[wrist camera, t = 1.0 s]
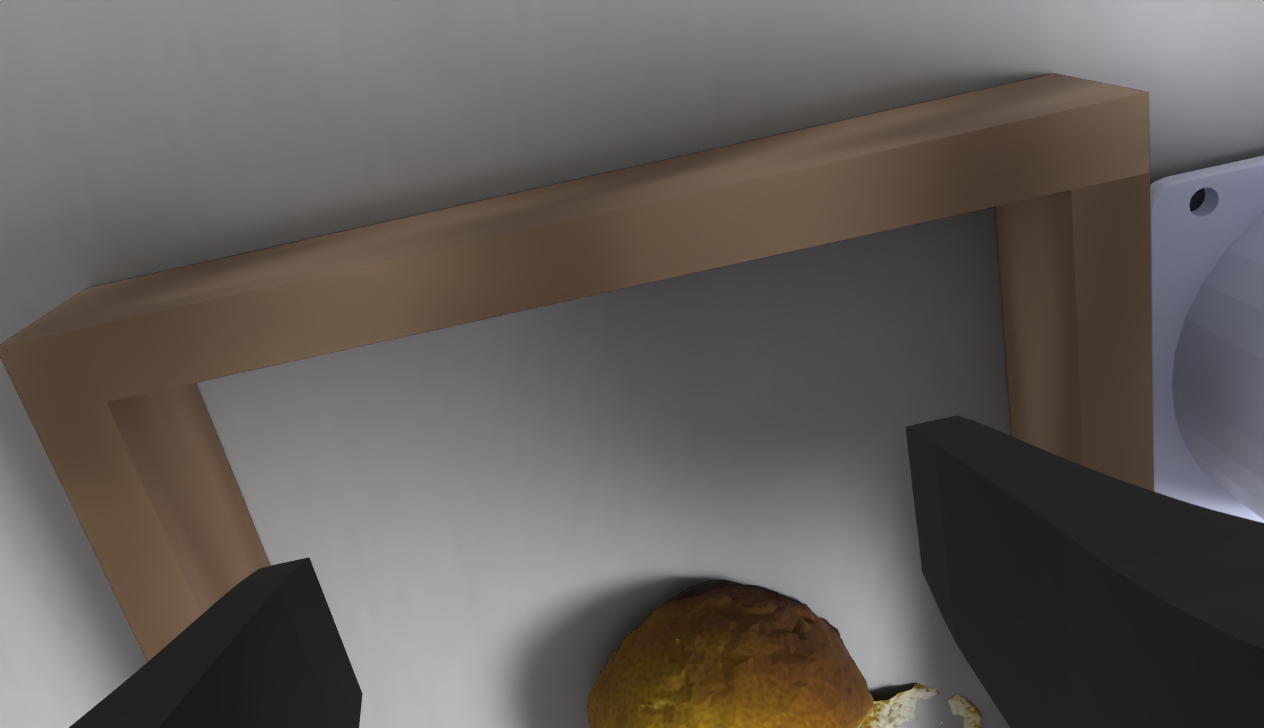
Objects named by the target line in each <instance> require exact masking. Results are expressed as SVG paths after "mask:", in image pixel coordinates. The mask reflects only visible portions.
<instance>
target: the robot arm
mask: <svg viewBox="0 0 1264 728" xmlns="http://www.w3.org/2000/svg"><path fill="white" fill-rule="evenodd" d="M1202 188H1204V191H1205V198H1204V202H1203V203H1202V204H1201V205H1200V207H1199V208H1198V209H1196V210H1194V211H1191V210H1190V207H1189V204H1190V200H1191V197H1192V196H1193V195H1194V194H1195V192H1196V191H1198V190H1200V189H1202ZM1150 217H1151V299H1152V382H1153V464H1154V491H1151V490H1148V489H1145V488H1142V487H1139V486H1136V485H1133V484H1130V483H1127V482H1125V481H1122V480H1119V479H1117V478H1114V477H1111V476H1108V475H1106V474H1103V473H1100V472H1098V471H1095V470H1093V469H1090V468H1087V467H1085V466H1082V465H1080V464H1077V463H1075V462H1072V461H1070V460H1067V459H1065V458H1062V457H1060V456H1057V455H1055V454H1052V453H1050V452H1048V451H1045V450H1043V449H1040V448H1038V447H1036V446H1033V445H1031V444H1028V443H1026V442H1024V441H1021V440H1019V439H1016V438H1014V437H1012V436H1009V435H1007V434H1005V433H1002V432H1000V431H997V430H995V429H992V428H990V427H988V426H985V425H982V424H980V423H977V422H975V421H972V420H969V419H966V418H963V417H960V416H953V417H948V418H944V419H939V420H934V421H930V422H925V423H921V424H916V425H912V426H907V427H906V434H907V443H908V452H909V460H910V469H911V478H912V486H913V495H914V503H915V512H916V521H917V529H918V538H919V547H920V555H921V564H922V572H923V574H924V576H925V579H926V581H927V583H928V585H929V587H930V590H931V592H932V594H933V596H934V598H935V601H936V603H937V605H938V607H939V609H940V612H941V614H942V616H943V618H944V620H945V622H946V624H947V626H948V628H949V630H950V632H951V634H952V636H953V638H954V640H955V642H956V644H957V645H958V647H959V649H960V650H961V652H962V653H963V655H964V657H965V658H966V660H967V661H968V663H969V664H970V666H971V667H972V669H973V671H974V672H975V674H976V675H977V677H978V678H979V680H980V681H981V683H982V685H983V686H984V688H985V689H986V691H987V692H988V694H989V695H990V697H991V699H992V700H993V702H994V703H995V705H996V706H997V708H998V709H999V711H1000V712H1001V714H1002V715H1003V717H1004V718H1005V720H1006V721H1007V723H1008V725H1009V726H1010V728H1264V155H1263V156H1259V157H1254V158H1250V159H1245V160H1241V161H1236V162H1232V163H1227V164H1222V165H1218V166H1213V167H1209V168H1204V169H1200V170H1195V171H1191V172H1186V173H1182V174H1177V175H1172V176H1168V177H1164V178H1162V179H1159V180H1157V181H1155V182H1154V183H1152V184H1151V185H1150ZM361 702H362V692H361V689H360V687H359V684H358V681H357V679H356V676H355V674H354V671H353V669H352V666H351V663H350V661H349V658H348V656H347V653H346V651H345V648H344V645H343V643H342V640H341V638H340V635H339V633H338V630H337V627H336V625H335V622H334V620H333V617H332V615H331V612H330V609H329V607H328V604H327V602H326V599H325V597H324V594H323V591H322V589H321V586H320V584H319V581H318V579H317V576H316V573H315V571H314V568H313V566H312V563H311V561H310V558H304V559H300V560H295V561H291V562H286V563H281V564H277V565H272V566H268V567H263V568H259V569H258V570H256V571H255V572H253V573H252V574H250V575H249V576H248V577H246V578H245V579H244V580H242V581H241V582H240V583H238V584H237V585H236V586H235V587H233V588H232V589H231V590H230V591H229V592H227V593H226V594H225V595H224V596H223V597H221V598H220V599H219V600H218V601H217V602H216V603H214V604H213V605H212V606H211V607H210V608H209V609H207V610H206V611H205V612H204V613H203V614H202V615H201V616H199V617H198V618H197V619H196V620H195V621H194V622H193V623H192V624H190V625H189V626H188V627H187V628H186V629H185V630H184V631H182V632H181V633H180V634H179V635H178V636H177V637H176V638H175V639H173V640H172V641H171V642H170V643H169V644H168V645H167V646H165V647H164V648H163V649H162V650H161V651H160V652H159V653H157V654H156V655H155V656H154V657H153V658H152V659H151V660H149V661H148V662H147V663H146V664H145V665H144V666H143V667H142V668H140V669H139V670H138V671H137V672H136V673H135V674H133V675H132V676H131V677H130V678H129V679H128V680H126V681H125V682H124V683H123V684H121V685H120V686H119V687H118V688H117V689H115V690H114V691H113V692H112V693H111V694H109V695H108V696H107V697H106V698H104V699H103V700H102V701H101V702H100V703H98V704H97V705H96V706H95V707H94V708H92V709H91V710H90V711H89V712H87V713H86V714H85V715H84V716H83V717H81V718H80V719H79V720H78V721H76V722H75V723H74V724H73V725H72V726H70V727H69V728H359V722H360V712H361Z"/></svg>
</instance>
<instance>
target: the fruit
mask: <svg viewBox="0 0 1264 728" xmlns="http://www.w3.org/2000/svg"><path fill="white" fill-rule="evenodd" d="M600 674H601V676H600V677H599V679H598V680H597V681H596V683H595V685H594V686H593V688H592V690H591V691H590V694H589V699H588V705H587V708H588V719H589V724H590V726H591V728H896V727H897V726H899V725H900V724H902V723H905V722H908V721H911V720H914V719H916V716H915V713H914V712H915V709H916V702H917V701H918V700H926V699H929V698H931V697H932V696H934V695H936V694H938V693H939V691H938V689H936V688H933V689H931V688H929V687H927V686H922V685H920V684H915V685H914V687H913V688H912V689H911V690H908V691H904V692H900V693H897V694H896V696H894V697H893V698H892V699H889V700H886V701H877V702H876V701H874V700H873V698H872V695H871V694H870V692H869V690H868V686H867V683H866V680H865V678H864V677H863V675H862V674H861V672H860V670H859V669H858V667H857V665H856V663H855V662H854V660H853V659H852V658H851V656H850V654H849V652H848V650H847V649H846V647H845V646H844V643H843V641H842V639H841V638H840V634H839V631H838V629H836V628H835V627H833V626H832V625H830V624H829V622H828V621H827V620H825V619H823V618H820V617H817V616H816V615H815V614H814V613H813V612H812V611H811V609H810V608H809V607H808V606H807V605H806V604H803V603H799V602H795V601H791V600H788V599H786V598H785V597H784V596H783V595H781V594H779V593H777V592H773V591H771V590H769V589H767V588H764V587H760V586H754V585H743V584H739V583H735V582H731V581H726V580H714V581H710V582H706V583H702V584H698V585H696V586H694V587H690V588H688V589H686V590H684V591H682V592H681V593H680V594H678V595H677V596H675V597H673V598H672V599H670V600H668V601H667V602H665V603H664V604H663V605H662V606H661V607H660V608H658V609H655V610H653V612H651V613H650V614H648V615H647V618H646V620H645V622H644V623H643V624H642V626H641V627H639V628H637V629H636V630H634V631H633V632H632V633H631V634H630V635H629V636H628V637H626V638H625V639H624V640H622V643H621V646H620V649H619V650H616V651H613V652H612V654H611V656H610V658H609V660H608V663H607V665H606V668H605V669H604V670H603V671H601V672H600ZM948 703H949V705H950V708H951V711H952V714H953V716H954V715H961V716H963V717H965V718H964V721H963V724H964V728H981V724H982V719H981V715H980V711H979V710H978V709H977V708H976V707H975V706H974V705H973V704H972V703H970V702H969V701H968V700H966V699H965V698H963V697H961V696H959V695H957V694H954V696H953V697H951V698H950V699H949V700H948ZM941 724H943V722H941V723H940V725H941Z"/></svg>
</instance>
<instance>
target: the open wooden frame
mask: <svg viewBox="0 0 1264 728" xmlns="http://www.w3.org/2000/svg"><path fill="white" fill-rule="evenodd" d="M991 207H995V213H996V227H997V241H998V255H999V269H1000V283H1001V297H1002V311H1003V325H1004V338H1005V352H1006V366H1007V380H1008V394H1009V408H1010V422H1011V436H1012V437H1014V438H1016V439H1019V440H1021V441H1024V442H1026V443H1028V444H1031V445H1033V446H1036V447H1038V448H1040V449H1043V450H1045V451H1048V452H1050V453H1052V454H1055V455H1057V456H1060V457H1062V458H1065V459H1067V460H1070V461H1072V462H1075V463H1077V464H1080V465H1082V466H1085V467H1087V468H1090V469H1093V470H1095V471H1098V472H1100V473H1103V474H1106V475H1108V476H1111V477H1114V478H1117V479H1119V480H1122V481H1125V482H1127V483H1130V484H1133V485H1136V486H1139V487H1142V488H1145V489H1148V490H1151V491H1154V464H1153V382H1152V299H1151V217H1150V135H1149V92H1146V91H1141V90H1136V89H1131V88H1126V87H1121V86H1116V85H1111V84H1106V83H1101V82H1096V81H1090V80H1085V79H1080V78H1075V77H1070V76H1065V75H1060V74H1055V73H1054V74H1049V75H1045V76H1040V77H1036V78H1031V79H1027V80H1022V81H1018V82H1013V83H1009V84H1004V85H1000V86H995V87H991V88H986V89H982V90H977V91H973V92H968V93H964V94H959V95H955V96H950V97H946V98H941V99H937V100H932V101H928V102H923V103H919V104H914V105H910V106H905V107H901V108H896V109H892V110H887V111H883V112H878V113H874V114H869V115H865V116H860V117H856V118H851V119H847V120H842V121H838V122H833V123H829V124H824V125H820V126H815V127H811V128H806V129H802V130H797V131H793V132H788V133H784V134H779V135H775V136H770V137H766V138H761V139H757V140H752V141H748V142H743V143H739V144H734V145H730V146H725V147H721V148H716V149H712V150H707V151H703V152H698V153H694V154H689V155H685V156H680V157H676V158H671V159H667V160H662V161H658V162H653V163H649V164H644V165H640V166H635V167H631V168H626V169H622V170H617V171H612V172H608V173H603V174H599V175H594V176H590V177H585V178H581V179H576V180H572V181H567V182H563V183H558V184H554V185H549V186H545V187H540V188H536V189H531V190H527V191H522V192H518V193H513V194H509V195H504V196H500V197H495V198H491V199H486V200H482V201H477V202H473V203H468V204H464V205H459V206H455V207H450V208H446V209H441V210H437V211H432V212H428V213H423V214H419V215H414V216H410V217H405V218H401V219H396V220H392V221H387V222H383V223H378V224H374V225H369V226H365V227H360V228H356V229H351V230H347V231H342V232H338V233H333V234H329V235H324V236H320V237H315V238H311V239H306V240H302V241H297V242H293V243H288V244H284V245H279V246H275V247H270V248H266V249H261V250H257V251H252V252H248V253H243V254H239V255H234V256H230V257H225V258H221V259H216V260H212V261H207V262H203V263H198V264H194V265H189V266H185V267H180V268H176V269H171V270H167V271H162V272H158V273H153V274H149V275H144V276H140V277H135V278H131V279H126V280H122V281H117V282H113V283H108V284H104V285H99V286H95V287H90V288H86V289H84V290H83V291H81V292H80V293H78V294H77V295H75V296H74V297H72V298H71V299H69V300H68V301H66V302H64V303H63V304H61V305H60V306H58V307H57V308H55V309H54V310H52V311H51V312H49V313H48V314H46V315H45V316H43V317H42V318H40V319H38V320H37V321H35V322H34V323H32V324H31V325H29V326H28V327H26V328H25V329H23V330H22V331H20V332H19V333H17V334H16V335H14V336H12V337H11V338H9V339H8V340H6V341H5V342H3V343H2V344H0V358H1V360H2V362H3V364H4V366H5V368H6V370H7V372H8V374H9V376H10V378H11V380H12V382H13V385H14V387H15V389H16V391H17V393H18V395H19V397H20V399H21V401H22V403H23V405H24V407H25V409H26V411H27V413H28V416H29V418H30V420H31V422H32V424H33V426H34V428H35V430H36V432H37V434H38V436H39V438H40V440H41V442H42V445H43V447H44V449H45V451H46V453H47V455H48V457H49V459H50V461H51V463H52V465H53V467H54V469H55V471H56V473H57V476H58V478H59V480H60V482H61V484H62V486H63V488H64V490H65V492H66V494H67V496H68V498H69V500H70V502H71V505H72V507H73V509H74V511H75V513H76V515H77V517H78V519H79V521H80V523H81V525H82V527H83V529H84V531H85V533H86V536H87V538H88V540H89V542H90V544H91V546H92V548H93V550H94V552H95V554H96V556H97V558H98V560H99V562H100V565H101V567H102V569H103V571H104V573H105V575H106V577H107V579H108V581H109V583H110V585H111V587H112V589H113V591H114V594H115V596H116V598H117V600H118V602H119V604H120V606H121V608H122V610H123V612H124V614H125V616H126V618H127V620H128V622H129V625H130V627H131V629H132V631H133V633H134V635H135V637H136V639H137V641H138V643H139V645H140V647H141V649H142V651H143V654H144V656H145V658H146V660H147V662H148V661H149V660H151V659H152V658H153V657H154V656H155V655H156V654H157V653H159V652H160V651H161V650H162V649H163V648H164V647H165V646H167V645H168V644H169V643H170V642H171V641H172V640H173V639H175V638H176V637H177V636H178V635H179V634H180V633H181V632H182V631H184V630H185V629H186V628H187V627H188V626H189V625H190V624H192V623H193V622H194V621H195V620H196V619H197V618H198V617H199V616H201V615H202V614H203V613H204V612H205V611H206V610H207V609H209V608H210V607H211V606H212V605H213V604H214V603H216V602H217V601H218V600H219V599H220V598H221V597H223V596H224V595H225V594H226V593H227V592H229V591H230V590H231V589H232V588H233V587H235V586H236V585H237V584H238V583H240V582H241V581H242V580H244V579H245V578H246V577H248V576H249V575H250V574H252V573H253V572H255V571H256V570H258V569H259V568H263V567H268V566H271V565H270V563H269V560H268V558H267V555H266V553H265V551H264V548H263V546H262V543H261V541H260V538H259V536H258V533H257V531H256V528H255V526H254V524H253V521H252V519H251V516H250V514H249V511H248V509H247V506H246V504H245V501H244V499H243V497H242V494H241V492H240V489H239V487H238V484H237V482H236V479H235V477H234V474H233V472H232V470H231V467H230V465H229V462H228V460H227V457H226V455H225V452H224V450H223V447H222V445H221V443H220V440H219V438H218V435H217V433H216V430H215V428H214V425H213V423H212V420H211V418H210V416H209V413H208V411H207V408H206V406H205V403H204V401H203V398H202V396H201V393H200V391H199V389H198V386H197V384H196V382H201V381H205V380H210V379H214V378H219V377H224V376H228V375H233V374H237V373H242V372H246V371H251V370H255V369H260V368H264V367H269V366H274V365H278V364H283V363H287V362H292V361H296V360H301V359H305V358H310V357H314V356H319V355H324V354H328V353H333V352H337V351H342V350H346V349H351V348H355V347H360V346H364V345H369V344H373V343H378V342H383V341H387V340H392V339H396V338H401V337H405V336H410V335H414V334H419V333H423V332H428V331H433V330H437V329H442V328H446V327H451V326H455V325H460V324H464V323H469V322H473V321H478V320H482V319H487V318H492V317H496V316H501V315H505V314H510V313H514V312H519V311H523V310H528V309H532V308H537V307H542V306H546V305H551V304H555V303H560V302H564V301H569V300H573V299H578V298H582V297H587V296H591V295H596V294H601V293H605V292H610V291H614V290H619V289H623V288H628V287H632V286H637V285H641V284H646V283H651V282H655V281H660V280H664V279H669V278H673V277H678V276H682V275H687V274H691V273H696V272H700V271H705V270H710V269H714V268H719V267H723V266H728V265H732V264H737V263H741V262H746V261H750V260H755V259H760V258H764V257H769V256H773V255H778V254H782V253H787V252H791V251H796V250H800V249H805V248H809V247H814V246H819V245H823V244H828V243H832V242H837V241H841V240H846V239H850V238H855V237H859V236H864V235H869V234H873V233H878V232H882V231H887V230H891V229H896V228H900V227H905V226H909V225H914V224H919V223H923V222H928V221H932V220H937V219H941V218H946V217H950V216H955V215H959V214H964V213H968V212H973V211H978V210H982V209H987V208H991Z"/></svg>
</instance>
